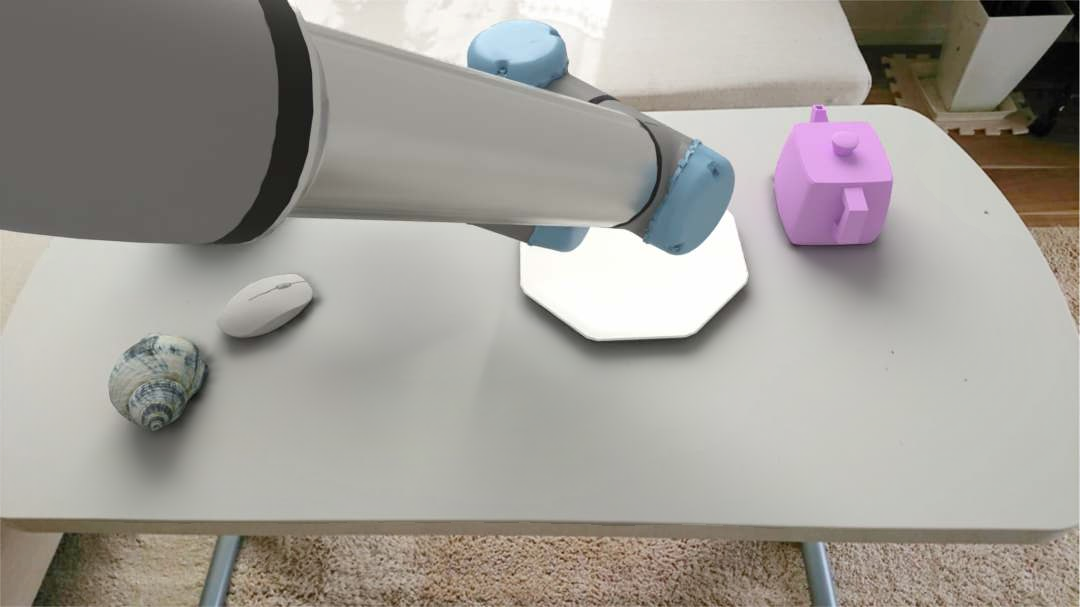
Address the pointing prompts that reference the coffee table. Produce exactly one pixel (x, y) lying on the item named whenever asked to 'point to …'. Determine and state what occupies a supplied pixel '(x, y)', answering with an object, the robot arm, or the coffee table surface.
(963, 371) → the coffee table surface
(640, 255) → the plate
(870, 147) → the teapot
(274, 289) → the computer mouse
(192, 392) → the seashell
